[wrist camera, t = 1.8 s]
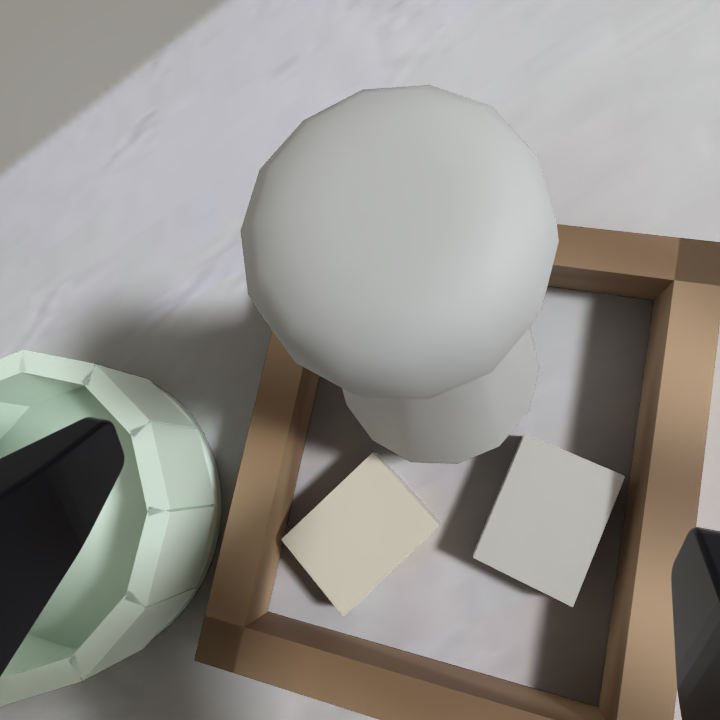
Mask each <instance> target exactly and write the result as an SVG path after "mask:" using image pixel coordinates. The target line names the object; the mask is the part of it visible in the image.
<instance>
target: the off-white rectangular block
mask: <svg viewBox="0 0 720 720" xmlns="http://www.w3.org/2000/svg"><path fill="white" fill-rule="evenodd" d="M624 478H625V476H624V475H622V474H619V473H617V472H615V471H612V470H610V469H607V468H605V467H603V466H600V465H598V464H596V463H593V462H591V461H589V460H586V459H584V458H582V457H579V456H577V455H575V454H572V453H570V452H568V451H565V450H563V449H561V448H558V447H556V446H554V445H551V444H549V443H547V442H544V441H542V440H540V439H537V438H535V437H533V436H530V435H528V434H526V433H525V434H524V435H523V436H522V438H521V440H520V442H519V445H518V447H517V450H516V452H515V454H514V457H513V459H512V461H511V464H510V466H509V469H508V471H507V473H506V476H505V478H504V480H503V483H502V485H501V488H500V490H499V492H498V495H497V497H496V499H495V502H494V504H493V507H492V509H491V511H490V514H489V516H488V518H487V521H486V523H485V526H484V528H483V530H482V533H481V535H480V537H479V540H478V542H477V545H476V547H475V549H474V552H473V558H474V559H476V560H478V561H480V562H482V563H484V564H487V565H489V566H491V567H493V568H495V569H497V570H499V571H501V572H503V573H505V574H507V575H509V576H511V577H513V578H515V579H517V580H519V581H521V582H523V583H525V584H527V585H529V586H531V587H533V588H535V589H537V590H539V591H541V592H543V593H545V594H547V595H549V596H551V597H553V598H555V599H557V600H559V601H561V602H563V603H565V604H567V605H569V606H571V607H573V606H574V603H575V601H576V598H577V596H578V593H579V591H580V588H581V586H582V583H583V581H584V578H585V576H586V573H587V571H588V568H589V566H590V563H591V561H592V558H593V556H594V553H595V551H596V548H597V546H598V543H599V541H600V538H601V536H602V533H603V531H604V528H605V526H606V523H607V521H608V518H609V516H610V513H611V511H612V508H613V506H614V503H615V501H616V498H617V496H618V493H619V491H620V488H621V486H622V483H623V481H624Z"/></svg>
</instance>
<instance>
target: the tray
mask: <svg viewBox="0 0 720 720" xmlns="http://www.w3.org/2000/svg"><path fill="white" fill-rule="evenodd" d="M557 230H558V238H559V243H558V247H557V251H556V255H555V259H554V263H553V266H552V270H551V274H550V278H549V282H548V286H553V287H560V288H568V289H575V290H582V291H590V292H597V293H605V294H612V295H620V296H627V297H634V298H642V299H649V300H654V304H653V311H652V319H651V326H650V333H649V341H648V348H647V355H646V363H645V370H644V378H643V385H642V392H641V400H640V407H639V414H638V422H637V429H636V437H635V444H634V451H633V459H632V466H631V474H630V481H629V488H628V496H627V503H626V510H625V518H624V525H623V533H622V540H621V547H620V555H619V562H618V569H617V577H616V584H615V592H614V599H613V606H612V614H611V621H610V628H609V636H608V643H607V651H606V658H605V665H604V673H603V680H602V688H601V695H600V702H599V707H596V706H592V705H589V704H585V703H582V702H578V701H575V700H571V699H568V698H565V697H561V696H558V695H554V694H551V693H547V692H544V691H540V690H537V689H533V688H530V687H526V686H523V685H520V684H516V683H513V682H509V681H506V680H502V679H499V678H495V677H492V676H488V675H485V674H481V673H478V672H475V671H471V670H468V669H464V668H461V667H457V666H454V665H450V664H447V663H443V662H440V661H436V660H433V659H429V658H426V657H423V656H419V655H416V654H412V653H409V652H405V651H402V650H398V649H395V648H391V647H388V646H384V645H381V644H378V643H374V642H371V641H367V640H364V639H360V638H357V637H353V636H350V635H346V634H343V633H339V632H336V631H333V630H329V629H326V628H322V627H319V626H315V625H312V624H308V623H305V622H301V621H298V620H294V619H291V618H287V617H284V616H281V615H277V614H274V613H270V612H268V608H269V603H270V599H271V594H272V590H273V585H274V581H275V576H276V572H277V567H278V562H279V558H280V553H281V549H282V544H283V541H282V540H281V539H282V538H283V537H284V535H285V531H286V526H287V522H288V517H289V513H290V508H291V504H292V499H293V495H294V490H295V486H296V481H297V477H298V472H299V468H300V463H301V459H302V454H303V449H304V445H305V440H306V436H307V431H308V427H309V422H310V418H311V413H312V409H313V404H314V400H315V395H316V391H317V386H318V382H319V377H320V376H319V375H317V374H315V373H314V372H312V371H310V370H308V369H306V368H304V367H303V366H301V365H299V364H297V363H295V361H294V360H293V359H292V357H291V356H290V354H289V353H288V352H287V350H286V349H285V347H284V346H283V345H282V343H281V342H280V340H279V339H278V338H277V336H276V335H275V333H274V332H273V330H272V334H271V338H270V342H269V347H268V351H267V355H266V359H265V364H264V368H263V372H262V376H261V381H260V385H259V389H258V393H257V397H256V402H255V406H254V410H253V414H252V419H251V423H250V427H249V431H248V435H247V440H246V444H245V448H244V452H243V457H242V461H241V465H240V469H239V474H238V478H237V482H236V486H235V490H234V495H233V499H232V503H231V507H230V512H229V516H228V520H227V524H226V528H225V533H224V537H223V541H222V545H221V550H220V554H219V558H218V562H217V567H216V571H215V575H214V579H213V583H212V588H211V592H210V596H209V600H208V605H207V609H206V613H205V617H204V621H203V626H202V630H201V634H200V638H199V643H198V647H197V651H196V655H195V661H198V662H201V663H204V664H207V665H210V666H213V667H217V668H220V669H223V670H226V671H229V672H232V673H235V674H239V675H242V676H245V677H248V678H251V679H254V680H257V681H260V682H264V683H267V684H270V685H273V686H276V687H279V688H282V689H285V690H289V691H292V692H295V693H298V694H301V695H304V696H307V697H311V698H314V699H317V700H320V701H323V702H326V703H329V704H332V705H336V706H339V707H342V708H345V709H348V710H351V711H354V712H358V713H361V714H364V715H367V716H370V717H373V718H376V719H379V720H673V718H674V710H675V701H676V693H677V677H676V661H675V642H674V624H673V605H672V587H671V572H672V567H673V563H674V561H675V559H676V557H677V554H678V552H679V550H680V548H681V546H682V544H683V542H684V540H685V538H686V536H687V534H688V532H689V531H690V530H691V529H692V528H694V527H696V522H697V513H698V505H699V496H700V488H701V479H702V471H703V462H704V454H705V445H706V436H707V428H708V419H709V411H710V402H711V394H712V385H713V377H714V368H715V360H716V351H717V342H718V334H719V325H720V242H712V241H703V240H694V239H685V238H676V237H667V236H658V235H649V234H640V233H631V232H622V231H613V230H604V229H595V228H586V227H577V226H568V225H559V224H557Z"/></svg>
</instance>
